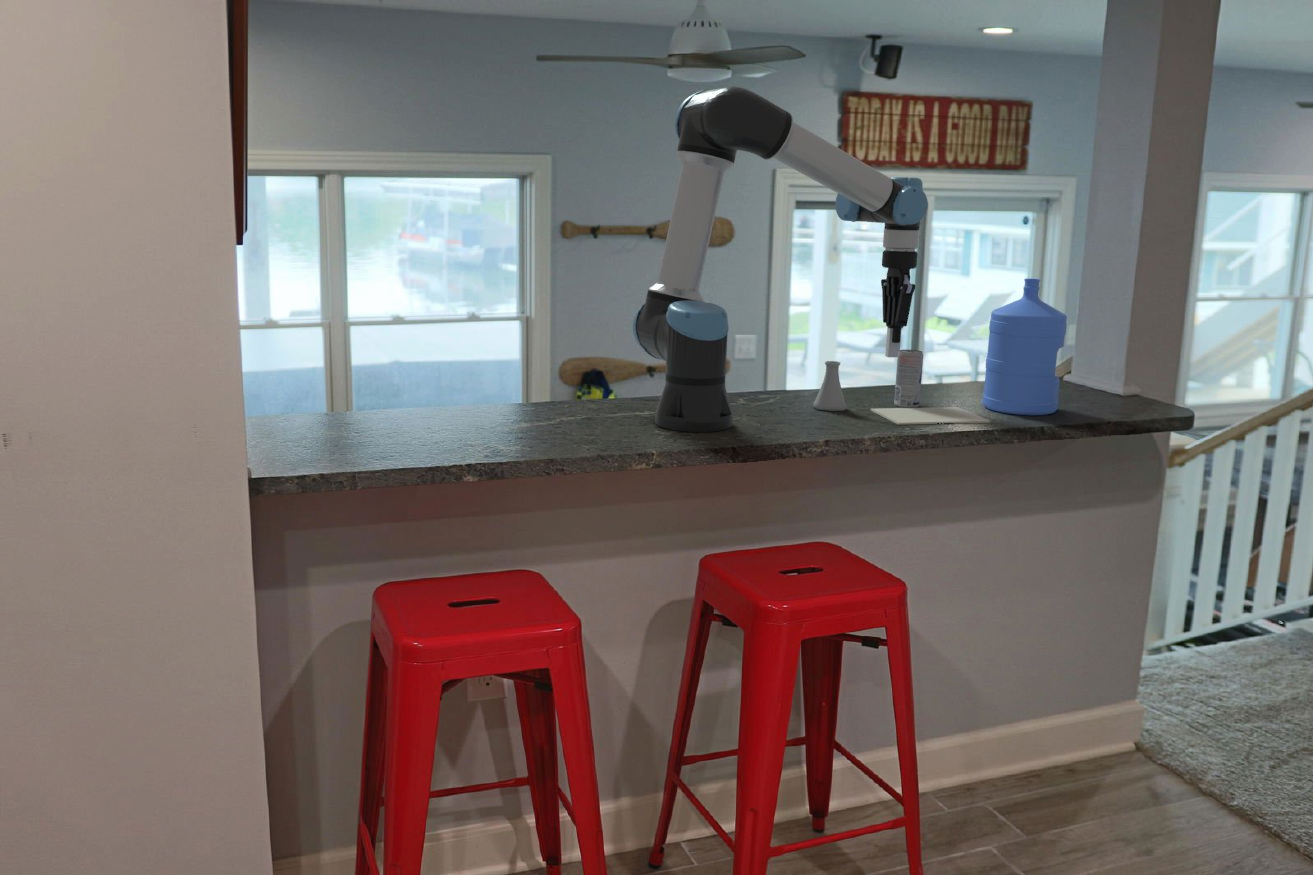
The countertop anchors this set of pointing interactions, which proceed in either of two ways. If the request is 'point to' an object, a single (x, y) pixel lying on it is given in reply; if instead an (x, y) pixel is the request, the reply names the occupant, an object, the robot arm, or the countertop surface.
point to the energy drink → (908, 378)
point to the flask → (831, 390)
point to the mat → (929, 415)
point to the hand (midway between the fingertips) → (892, 356)
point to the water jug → (1024, 355)
